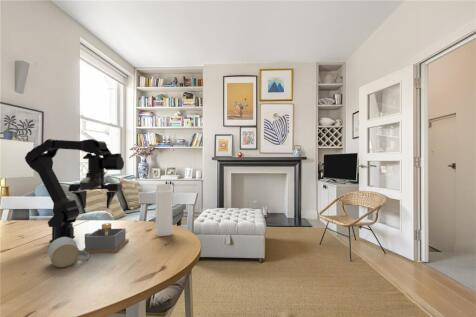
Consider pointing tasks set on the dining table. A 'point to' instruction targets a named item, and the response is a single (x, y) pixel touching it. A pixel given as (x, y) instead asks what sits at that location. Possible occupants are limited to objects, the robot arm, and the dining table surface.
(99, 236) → the grey square tray
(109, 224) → the plunger
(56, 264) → the ceramic mug
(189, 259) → the dining table surface
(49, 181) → the robot arm
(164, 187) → the milk
